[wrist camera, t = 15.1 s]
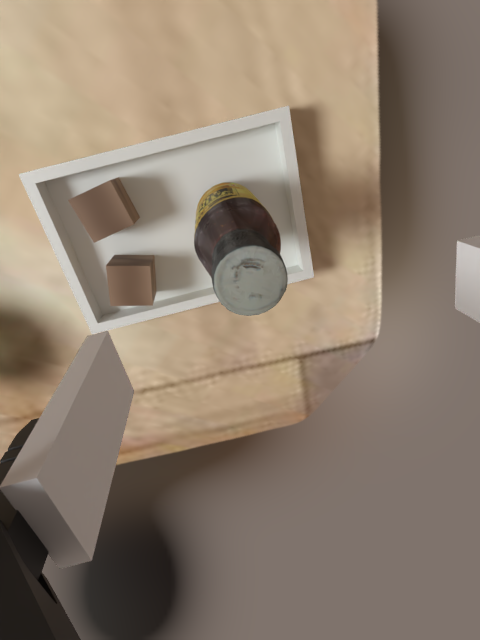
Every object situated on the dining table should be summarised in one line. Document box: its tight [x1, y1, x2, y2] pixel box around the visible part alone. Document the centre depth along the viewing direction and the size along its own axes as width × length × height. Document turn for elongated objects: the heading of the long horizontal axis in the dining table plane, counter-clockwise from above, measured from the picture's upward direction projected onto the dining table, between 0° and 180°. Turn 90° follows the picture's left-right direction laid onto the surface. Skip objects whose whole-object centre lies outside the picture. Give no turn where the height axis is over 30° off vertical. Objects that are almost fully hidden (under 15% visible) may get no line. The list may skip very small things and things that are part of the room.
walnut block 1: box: [68, 177, 140, 243], centre depth 34 cm, size 4×4×4 cm
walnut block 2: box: [106, 255, 157, 306], centre depth 37 cm, size 4×4×4 cm
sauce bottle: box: [194, 182, 288, 316], centre depth 28 cm, size 7×6×20 cm
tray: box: [19, 106, 314, 334], centre depth 36 cm, size 24×16×3 cm, turn 103°
